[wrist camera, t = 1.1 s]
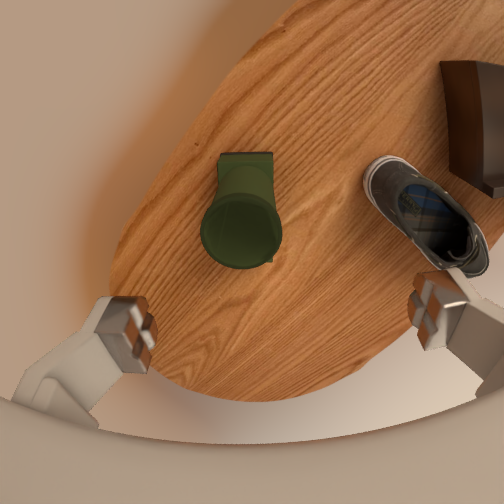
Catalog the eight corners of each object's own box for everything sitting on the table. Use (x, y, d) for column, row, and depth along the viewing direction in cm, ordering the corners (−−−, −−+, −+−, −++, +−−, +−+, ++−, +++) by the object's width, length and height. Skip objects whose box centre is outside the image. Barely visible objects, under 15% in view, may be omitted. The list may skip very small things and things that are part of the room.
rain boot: (219, 152, 30) (195, 193, 18) (273, 151, 29) (283, 191, 18) (226, 245, 35) (211, 321, 24) (272, 245, 35) (278, 321, 24)
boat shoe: (487, 244, 34) (518, 274, 27) (452, 284, 38) (477, 319, 31) (393, 127, 27) (432, 141, 20) (345, 185, 31) (371, 216, 24)
